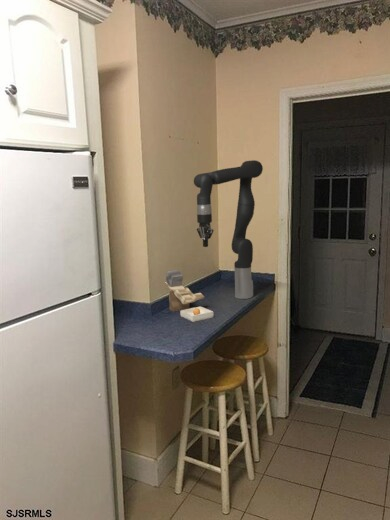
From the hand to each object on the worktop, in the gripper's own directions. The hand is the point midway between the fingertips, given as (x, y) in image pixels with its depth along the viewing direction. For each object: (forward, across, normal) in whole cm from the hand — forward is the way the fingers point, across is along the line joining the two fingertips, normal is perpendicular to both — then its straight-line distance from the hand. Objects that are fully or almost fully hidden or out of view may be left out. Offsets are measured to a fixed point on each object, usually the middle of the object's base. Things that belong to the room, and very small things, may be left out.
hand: (205, 246), depth 224 cm
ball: (+30, -16, +16) cm, 38 cm away
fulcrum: (+31, +2, +16) cm, 35 cm away
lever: (+22, +1, +13) cm, 25 cm away
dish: (+31, -15, +16) cm, 38 cm away
